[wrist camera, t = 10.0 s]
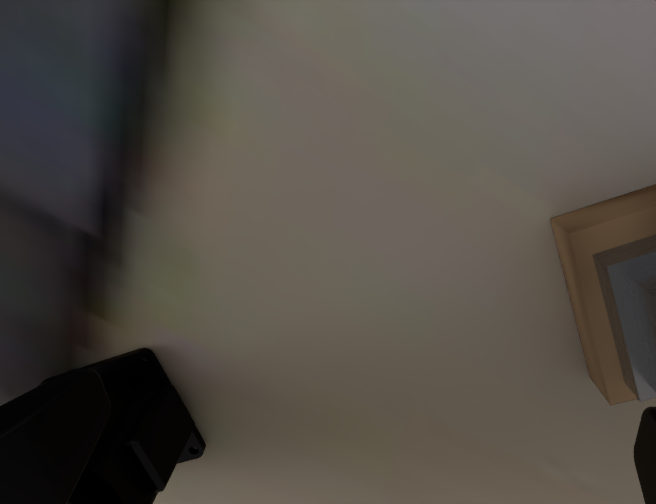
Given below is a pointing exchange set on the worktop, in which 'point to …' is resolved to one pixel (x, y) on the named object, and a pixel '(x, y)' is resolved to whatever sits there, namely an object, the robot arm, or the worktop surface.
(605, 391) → the square wooden tray
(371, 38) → the worktop surface
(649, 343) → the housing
